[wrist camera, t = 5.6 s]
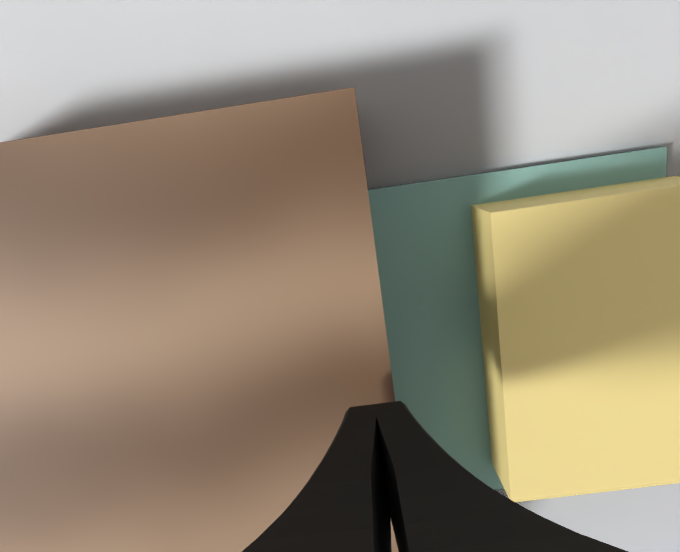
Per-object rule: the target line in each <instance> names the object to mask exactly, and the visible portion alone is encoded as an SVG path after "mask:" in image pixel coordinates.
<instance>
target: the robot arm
mask: <svg viewBox="0 0 680 552" xmlns="http://www.w3.org/2000/svg"><path fill="white" fill-rule="evenodd" d="M391 522H392V526H393V530H394V534H395V539H396V543H397V547H398V551H399V552H628V551H625V550H622V549H619V548H617V547H614V546H611V545H609V544H606V543H603V542H600V541H598V540H595V539H592V538H589V537H587V536H584V535H581V534H579V533H576V532H574V531H572V530H569V529H567V528H565V527H563V526H561V525H558V524H556V523H554V522H552V521H550V520H548V519H545V518H543V517H541V516H539V515H537V514H535V513H534V512H532V511H530V510H528V509H526V508H524V507H522V506H520V505H519V504H517V503H515V502H514V501H512V500H510V499H508V498H507V497H505V496H503V495H501V494H500V493H498V492H497V491H495V490H494V489H492V488H491V487H489V486H488V485H486V484H485V483H483V482H482V481H481V480H479V479H478V478H476V477H475V476H474V475H473V474H471V473H470V472H469V471H468V470H466V469H465V468H464V467H463V466H461V465H460V464H459V463H458V462H457V461H456V460H455V459H454V458H452V457H451V456H450V455H449V454H448V453H447V452H446V451H445V450H444V449H443V448H442V447H441V446H440V445H439V444H438V443H437V442H436V441H435V440H434V439H433V438H432V437H431V436H430V435H429V434H428V433H427V432H426V431H425V430H424V428H423V427H422V426H421V425H420V424H419V422H418V421H417V420H416V419H415V418H414V416H413V415H412V414H411V412H410V411H409V409H408V408H407V406H406V405H405V404H404V403H403V402H401V401H394V402H386V403H378V404H371V405H363V406H355V407H349V409H348V410H347V411H346V413H345V416H344V418H343V421H342V423H341V425H340V427H339V430H338V432H337V434H336V436H335V438H334V440H333V441H332V443H331V445H330V447H329V449H328V450H327V452H326V454H325V456H324V457H323V459H322V461H321V462H320V464H319V465H318V467H317V468H316V470H315V471H314V473H313V474H312V476H311V477H310V479H309V480H308V482H307V483H306V485H305V486H304V487H303V489H302V490H301V491H300V493H299V494H298V495H297V496H296V498H295V499H294V500H293V501H292V503H291V504H290V505H289V506H288V507H287V509H286V510H285V511H284V512H283V513H282V514H281V515H280V516H279V517H278V518H277V519H276V520H275V521H274V522H273V523H272V524H271V525H270V526H269V527H268V528H267V529H266V530H265V531H264V532H263V533H262V534H261V535H260V536H259V537H258V538H257V539H256V540H255V541H253V542H252V543H251V544H250V545H249V546H248V547H246V548H245V549H244V550H243V551H242V552H392V546H391Z"/></svg>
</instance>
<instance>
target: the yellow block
mask: <svg viewBox="0 0 680 552" xmlns="http://www.w3.org/2000/svg"><path fill="white" fill-rule="evenodd" d="M471 212H472V224H473V236H474V249H475V261H476V274H477V286H478V299H479V311H480V324H481V336H482V349H483V361H484V373H485V386H486V398H487V411H488V423H489V436H490V448H491V461H492V464H493V466H494V468H495V470H496V473H497V475H498V477H499V479H500V481H501V483H502V485H503V487H504V489H505V491H506V493H507V495H508V497H509V499H510V500H512V501H514V502H521V501H530V500H538V499H547V498H555V497H564V496H572V495H581V494H589V493H598V492H606V491H615V490H623V489H632V488H640V487H649V486H657V485H666V484H674V483H680V176H669V177H663V178H656V179H649V180H642V181H635V182H628V183H621V184H614V185H607V186H600V187H594V188H587V189H580V190H573V191H566V192H559V193H552V194H545V195H538V196H532V197H525V198H518V199H511V200H504V201H497V202H490V203H483V204H476V205H471Z"/></svg>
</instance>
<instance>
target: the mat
mask: <svg viewBox="0 0 680 552" xmlns="http://www.w3.org/2000/svg"><path fill="white" fill-rule="evenodd" d="M666 172H667V147H658V148H651V149H644V150H637V151H630V152H624V153H617V154H610V155H603V156H596V157H590V158H583V159H576V160H569V161H562V162H556V163H549V164H542V165H535V166H528V167H522V168H515V169H508V170H501V171H494V172H488V173H481V174H474V175H467V176H460V177H453V178H447V179H440V180H433V181H426V182H419V183H413V184H406V185H399V186H392V187H385V188H379V189H372V190H368V195H369V203H370V211H371V218H372V226H373V234H374V242H375V249H376V257H377V265H378V272H379V280H380V288H381V295H382V303H383V311H384V318H385V326H386V334H387V341H388V349H389V357H390V364H391V372H392V380H393V388H394V395H395V401H401V402H403V403H404V404H405V405H406V406H407V408H408V409H409V411H410V412H411V414H412V415H413V416H414V418H415V419H416V420H417V421H418V422H419V424H420V425H421V426H422V427H423V428H424V430H425V431H426V432H427V433H428V434H429V435H430V436H431V437H432V438H433V439H434V440H435V441H436V442H437V443H438V444H439V445H440V446H441V447H442V448H443V449H444V450H445V451H446V452H447V453H448V454H449V455H450V456H451V457H452V458H454V459H455V460H456V461H457V462H458V463H459V464H460V465H461V466H463V467H464V468H465V469H466V470H468V471H469V472H470V473H471V474H473V475H474V476H475V477H476V478H478V479H479V480H481V481H482V482H483V483H485V484H486V485H488V486H489V487H491V488H492V489H494V490H497V489H504V487H503V485H502V483H501V481H500V479H499V477H498V475H497V473H496V470H495V468H494V466H493V464H492V461H491V448H490V436H489V423H488V411H487V398H486V386H485V373H484V361H483V349H482V336H481V324H480V311H479V299H478V286H477V274H476V261H475V249H474V236H473V224H472V212H471V205H476V204H483V203H490V202H497V201H504V200H511V199H518V198H525V197H532V196H538V195H545V194H552V193H559V192H566V191H573V190H580V189H587V188H594V187H600V186H607V185H614V184H621V183H628V182H635V181H642V180H649V179H656V178H663V177H666Z"/></svg>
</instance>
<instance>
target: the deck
mask: <svg viewBox="0 0 680 552" xmlns="http://www.w3.org/2000/svg"><path fill="white" fill-rule="evenodd" d="M394 401H395V395H394V388H393V380H392V372H391V364H390V357H389V349H388V341H387V334H386V326H385V318H384V311H383V303H382V295H381V288H380V280H379V272H378V265H377V257H376V249H375V242H374V234H373V226H372V218H371V211H370V203H369V195H368V188H367V180H366V172H365V165H364V157H363V149H362V142H361V134H360V126H359V119H358V111H357V103H356V95H355V88H354V87H352V88H346V89H339V90H333V91H326V92H320V93H314V94H307V95H301V96H295V97H288V98H282V99H275V100H269V101H263V102H256V103H250V104H243V105H237V106H231V107H224V108H218V109H211V110H205V111H199V112H192V113H186V114H180V115H173V116H167V117H160V118H154V119H148V120H141V121H135V122H128V123H122V124H116V125H109V126H103V127H96V128H90V129H84V130H77V131H71V132H65V133H58V134H52V135H45V136H39V137H33V138H26V139H20V140H13V141H7V142H1V143H0V552H242V551H243V550H244V549H245V548H246V547H248V546H249V545H250V544H251V543H252V542H253V541H255V540H256V539H257V538H258V537H259V536H260V535H261V534H262V533H263V532H264V531H265V530H266V529H267V528H268V527H269V526H270V525H271V524H272V523H273V522H274V521H275V520H276V519H277V518H278V517H279V516H280V515H281V514H282V513H283V512H284V511H285V510H286V509H287V507H288V506H289V505H290V504H291V503H292V501H293V500H294V499H295V498H296V496H297V495H298V494H299V493H300V491H301V490H302V489H303V487H304V486H305V485H306V483H307V482H308V480H309V479H310V477H311V476H312V474H313V473H314V471H315V470H316V468H317V467H318V465H319V464H320V462H321V461H322V459H323V457H324V456H325V454H326V452H327V450H328V449H329V447H330V445H331V443H332V441H333V440H334V438H335V436H336V434H337V432H338V430H339V427H340V425H341V423H342V421H343V418H344V416H345V413H346V411H347V410H348V409H349V407H355V406H363V405H371V404H378V403H386V402H394ZM391 546H392V552H399V551H398V547H397V543H396V539H395V534H394V530H393V526H392V522H391Z"/></svg>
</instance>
